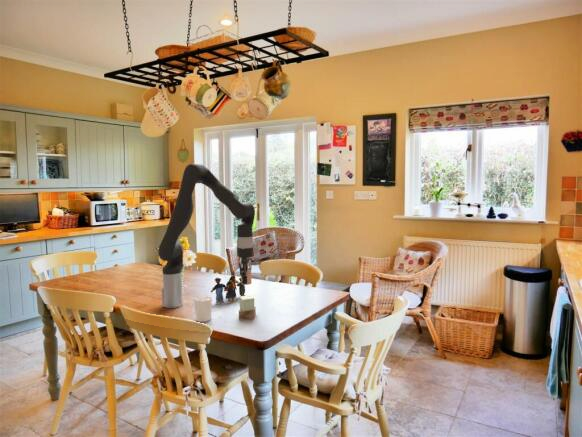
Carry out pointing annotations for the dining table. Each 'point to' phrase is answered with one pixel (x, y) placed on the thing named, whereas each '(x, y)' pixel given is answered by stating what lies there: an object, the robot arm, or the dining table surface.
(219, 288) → the doll family
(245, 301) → the sage cube
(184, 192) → the robot arm
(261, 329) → the dining table surface
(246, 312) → the walnut base
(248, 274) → the terracotta cylinder
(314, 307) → the dining table surface
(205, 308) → the white cup
